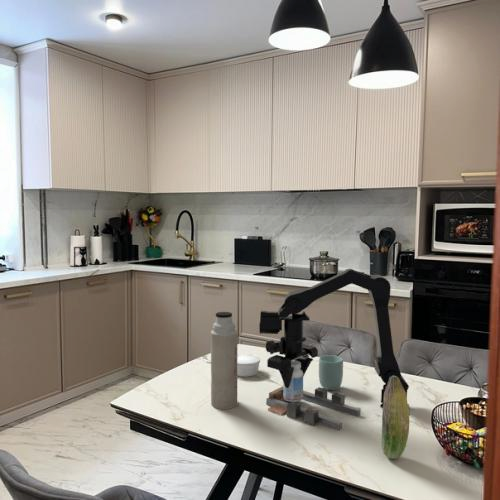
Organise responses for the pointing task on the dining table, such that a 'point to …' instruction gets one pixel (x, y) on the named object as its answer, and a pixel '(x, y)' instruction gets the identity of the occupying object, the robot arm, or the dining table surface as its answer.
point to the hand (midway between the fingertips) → (293, 384)
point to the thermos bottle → (224, 362)
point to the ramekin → (247, 365)
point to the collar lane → (311, 414)
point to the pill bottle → (294, 384)
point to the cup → (330, 371)
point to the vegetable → (394, 419)
